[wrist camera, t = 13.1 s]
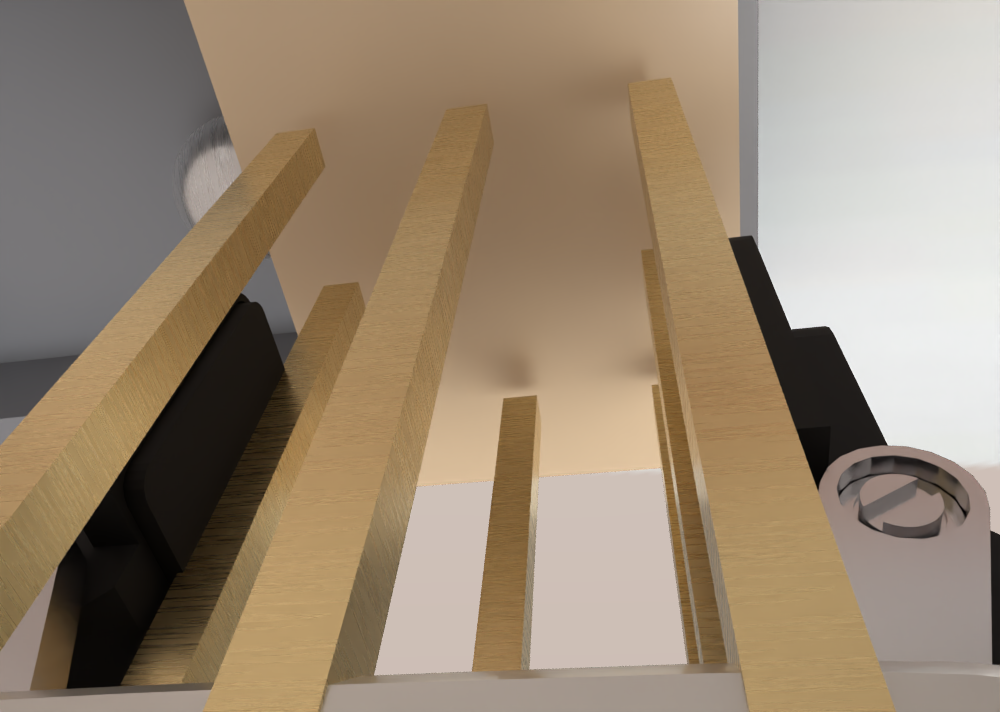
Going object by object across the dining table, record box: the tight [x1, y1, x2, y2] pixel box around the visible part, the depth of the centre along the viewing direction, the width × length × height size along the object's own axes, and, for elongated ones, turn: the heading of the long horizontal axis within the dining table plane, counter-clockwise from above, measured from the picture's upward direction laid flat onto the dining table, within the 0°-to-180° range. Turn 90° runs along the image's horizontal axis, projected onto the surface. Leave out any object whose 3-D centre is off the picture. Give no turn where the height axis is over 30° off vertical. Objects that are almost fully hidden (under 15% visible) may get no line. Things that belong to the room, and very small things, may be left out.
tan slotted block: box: [0, 77, 896, 712], centre depth 9 cm, size 6×6×11 cm
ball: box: [172, 115, 271, 259], centre depth 20 cm, size 3×3×3 cm
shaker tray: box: [0, 0, 758, 487], centre depth 19 cm, size 12×24×8 cm, turn 99°
